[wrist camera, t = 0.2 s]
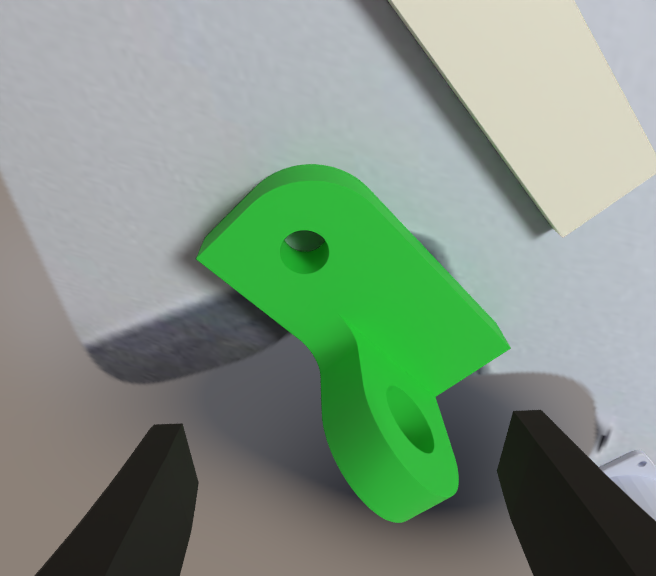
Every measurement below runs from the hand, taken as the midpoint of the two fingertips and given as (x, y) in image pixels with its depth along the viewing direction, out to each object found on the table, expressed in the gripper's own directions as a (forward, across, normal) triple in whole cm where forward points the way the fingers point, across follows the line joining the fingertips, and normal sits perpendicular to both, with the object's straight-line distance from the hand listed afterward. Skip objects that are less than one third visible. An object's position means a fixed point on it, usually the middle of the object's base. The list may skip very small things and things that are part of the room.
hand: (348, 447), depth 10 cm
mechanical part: (+10, -1, +2) cm, 11 cm away
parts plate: (+10, -6, -6) cm, 13 cm away
